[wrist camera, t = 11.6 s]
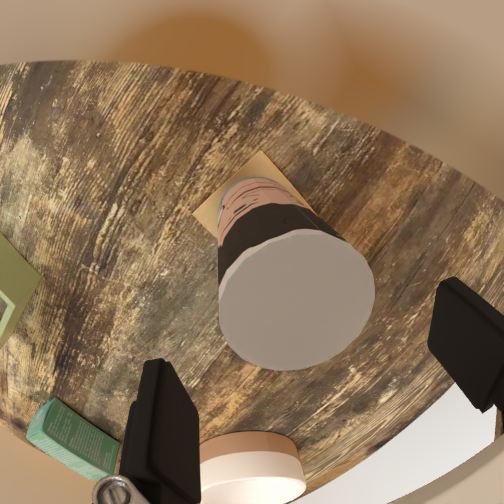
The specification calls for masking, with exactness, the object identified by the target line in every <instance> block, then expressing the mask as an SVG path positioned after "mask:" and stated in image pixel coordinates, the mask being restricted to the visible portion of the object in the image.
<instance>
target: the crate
mask: <svg viewBox="0 0 504 504" xmlns="http://www.w3.org/2000/svg"><path fill="white" fill-rule="evenodd" d="M41 279H42V276H41V275H40V274H39V273H38V272H37V271H36V270H35V269H34V268H33V267H32V266H31V265H30V264H29V263H28V262H27V261H26V260H25V259H24V258H23V257H22V256H21V255H20V253H19V252H18V251H17V250H16V249H15V248H14V247H13V246H12V245H11V243H10V242H9V241H8V240H7V239H6V238H5V237H4V235H3V234H2V233H1V232H0V297H1V298H2V299H3V300H4V301H5V302H6V303H7V304H8V306H7V308H6V310H5V313H4V315H3V317H2V320H0V349H1V348H2V347H3V345H4V344H5V343H6V341H7V340H8V339H9V337H10V336H11V335H12V333H13V331H14V329H15V327H16V325H17V323H18V321H19V319H20V317H21V315H22V313H23V311H24V309H25V307H26V306H27V304H28V302H29V300H30V298H31V297H32V295H33V293H34V291H35V290H36V288H37V286H38V285H39V283H40V281H41Z"/></svg>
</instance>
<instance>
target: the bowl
mask: <svg viewBox="0 0 504 504" xmlns="http://www.w3.org/2000/svg"><path fill="white" fill-rule="evenodd" d="M200 478H201V502H200V503H201V504H284V503H286V502H289V501H291V500H293V499H295V498H297V497H298V496H300V495H301V494H302V493H303V492H304V491H305V489H306V483H305V479H304V475H303V471H302V467H301V463H300V460H299V456H298V453H297V449H296V446H295V444H294V442H293V441H292V440H291V439H289V438H288V437H285V436H283V435H280V434H277V433H271V432H263V431H245V432H236V433H230V434H225V435H221V436H218V437H215V438H212V439H210V440H208V441H205V442H204V443H203V444H201V445H200Z"/></svg>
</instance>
